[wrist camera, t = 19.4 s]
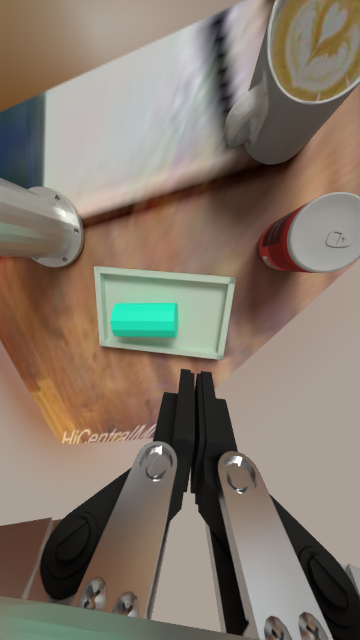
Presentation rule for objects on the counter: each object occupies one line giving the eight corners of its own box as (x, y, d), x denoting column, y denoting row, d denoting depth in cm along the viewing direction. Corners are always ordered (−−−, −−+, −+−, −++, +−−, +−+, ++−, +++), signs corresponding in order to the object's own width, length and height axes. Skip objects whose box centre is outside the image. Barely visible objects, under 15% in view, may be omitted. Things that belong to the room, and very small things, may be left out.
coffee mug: (314, 53, 22) (402, -111, 12) (321, 147, 24) (399, 71, 15) (208, 104, 24) (214, 1, 15) (225, 185, 27) (239, 141, 17)
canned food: (304, 270, 29) (362, 273, 19) (254, 270, 30) (283, 273, 19) (314, 218, 27) (387, 188, 16) (260, 219, 28) (297, 192, 17)
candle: (178, 303, 33) (117, 303, 34) (173, 301, 27) (99, 302, 28) (178, 335, 33) (117, 334, 34) (174, 340, 27) (100, 339, 28)
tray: (106, 340, 37) (99, 345, 35) (101, 266, 32) (93, 266, 30) (220, 353, 35) (222, 359, 33) (233, 277, 31) (236, 278, 28)
